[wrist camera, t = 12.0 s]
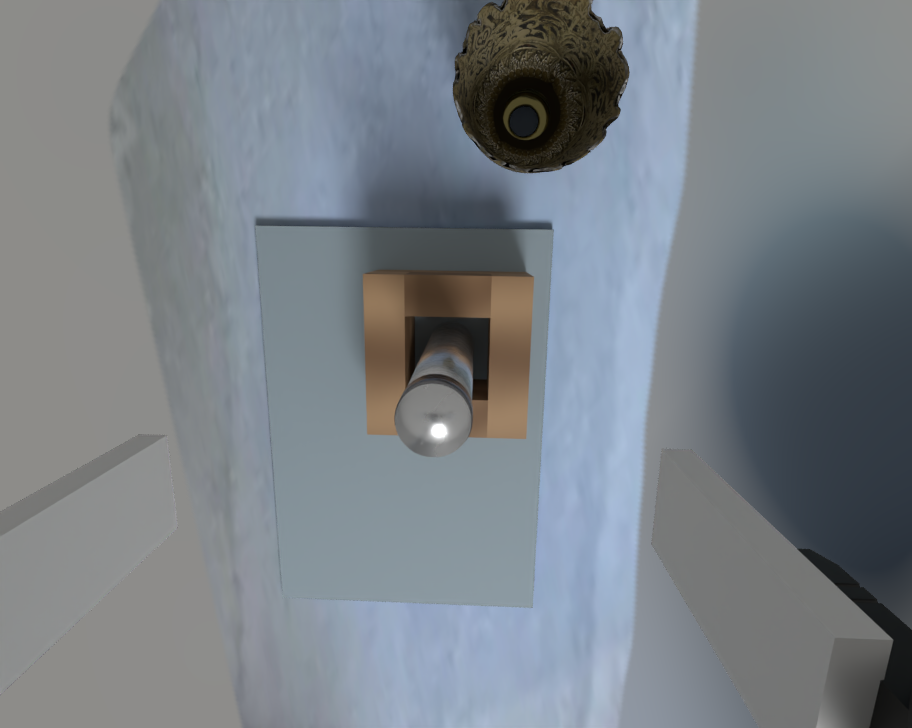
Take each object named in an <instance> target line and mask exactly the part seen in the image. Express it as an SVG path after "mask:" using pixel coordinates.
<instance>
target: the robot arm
mask: <svg viewBox="0 0 912 728" xmlns="http://www.w3.org/2000/svg"><path fill="white" fill-rule="evenodd" d="M177 528H178V524H177V516H176V507H175V500H174V490H173V481H172V473H171V465H170V456H169V448H168V439H167V435H144V434H139V435H137V436H135V437H134V438H132V439H130V440H128V441H126V442H125V443H123V444H121V445H119V446H117V447H116V448H114V449H112V450H110V451H108V452H106V453H105V454H103V455H101V456H100V457H98V458H96V459H94V460H92V461H90V462H89V463H87V464H85V465H83V466H81V467H80V468H78V469H76V470H74V471H73V472H71V473H69V474H67V475H65V476H63V477H62V478H60V479H58V480H56V481H54V482H53V483H51V484H49V485H48V486H46V487H44V488H42V489H40V490H38V491H36V492H35V493H33V494H31V495H29V496H28V497H26V498H24V499H22V500H20V501H18V502H17V503H15V504H13V505H11V506H10V507H8V508H6V509H4V510H3V511H0V695H1V694H2V693H3V692H4V691H5V690H6V689H7V688H8V687H9V686H10V685H12V683H14V682H15V681H16V680H17V679H18V678H19V677H20V676H21V675H22V674H23V673H24V672H25V671H26V670H27V669H29V668H30V667H31V666H32V665H33V664H34V663H35V662H36V661H37V660H38V659H39V658H40V657H41V656H42V655H43V654H44V653H46V652H47V651H48V650H49V649H50V648H51V647H52V646H53V645H54V644H55V643H56V642H57V641H58V640H59V639H60V638H61V637H62V636H64V635H65V634H66V633H67V632H68V631H69V630H70V629H71V628H72V627H73V626H74V625H75V624H76V623H77V622H78V621H80V619H82V618H83V617H84V616H85V615H86V614H87V613H88V612H89V611H90V610H91V609H92V608H93V607H94V606H95V605H96V604H97V603H99V602H100V601H101V600H102V599H103V598H104V597H105V596H106V595H107V594H108V593H109V592H110V591H111V590H112V589H113V588H115V587H116V586H117V585H118V584H119V583H120V582H121V581H122V580H123V579H124V578H125V577H126V576H127V575H128V574H129V573H130V572H132V571H133V570H134V568H136V567H137V566H138V565H139V564H140V563H141V562H142V561H143V560H144V559H145V558H146V557H147V556H148V555H150V554H151V553H152V552H153V551H154V550H155V549H156V548H157V547H158V546H159V545H160V544H161V543H162V542H163V541H164V540H166V538H168V537H169V536H170V535H171V534H172V533H173V532H174V531H175V530H176V529H177ZM651 544H652V546H653V548H654V549H655V551H656V553H657V555H658V556H659V558H660V560H661V561H662V563H663V565H664V566H665V568H666V570H667V571H668V573H669V575H670V577H671V578H672V580H673V582H674V583H675V585H676V587H677V588H678V590H679V592H680V594H681V595H682V597H683V599H684V600H685V602H686V604H687V606H688V607H689V609H690V610H691V612H692V614H693V616H694V617H695V619H696V621H697V623H698V624H699V626H700V628H701V629H702V631H703V633H704V634H705V636H706V638H707V640H708V641H709V643H710V645H711V646H712V648H713V650H714V651H715V653H716V655H717V657H718V658H719V660H720V662H721V663H722V665H723V667H724V669H725V670H726V672H727V674H728V675H729V677H730V679H731V680H732V682H733V683H734V685H735V687H736V689H737V691H738V692H739V694H740V696H741V697H742V699H743V701H744V703H745V704H746V706H747V708H748V709H749V711H750V713H751V714H752V716H753V718H754V720H755V721H756V723H757V725H758V726H759V728H912V630H911V629H910V628H909V627H908V626H907V625H906V624H904V623H903V622H902V621H901V620H900V619H899V618H898V617H896V616H895V615H894V614H893V613H892V612H891V611H890V610H888V609H887V608H886V607H885V606H884V605H883V604H881V603H878V602H877V599H876V598H875V597H874V596H873V595H871V594H870V593H869V592H868V591H867V590H866V589H865V588H864V587H860V586H859V583H858V582H857V581H856V580H854V579H853V578H852V577H851V576H850V575H849V574H848V573H847V572H845V571H844V570H843V569H842V568H841V567H840V566H839V565H837V564H835V563H833V562H832V561H830V560H828V559H826V558H825V557H823V556H821V555H819V554H818V553H816V552H814V551H812V550H810V549H796V548H795V547H794V546H793V545H792V544H791V543H790V542H789V541H788V540H787V539H786V538H785V537H784V536H783V535H782V534H781V533H779V532H778V531H777V530H776V529H775V528H774V527H773V526H772V525H771V524H770V523H769V522H768V521H767V520H766V519H765V518H764V517H762V516H761V515H760V514H759V513H758V512H757V511H756V510H755V509H754V508H753V507H752V506H751V505H750V504H749V503H747V501H746V500H744V499H743V498H742V497H741V496H740V495H739V494H738V493H737V492H736V491H735V490H734V489H733V488H732V487H731V486H730V485H729V484H727V483H726V482H725V481H724V480H723V479H722V478H721V477H720V476H719V475H718V474H717V473H716V472H715V471H714V470H713V469H712V468H710V467H709V466H708V465H707V464H706V463H705V462H704V461H703V460H702V459H701V458H700V457H699V456H698V455H697V454H696V453H695V452H694V451H693V450H686V449H662V451H661V461H660V469H659V478H658V487H657V496H656V505H655V514H654V525H653V533H652V542H651Z"/></svg>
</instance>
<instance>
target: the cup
mask: <svg viewBox="0 0 912 728" xmlns="http://www.w3.org/2000/svg"><path fill="white" fill-rule="evenodd" d="M592 1H593V0H504V1H503V3H502V5H501V6H500V7H499V6H498V5H497V4H495V3H493V2H490V3H488V4H486V5H485V6H484V7H483V8H482V9H481V11H480V12H479V13H478V15H477V21H476V20H474V22H473V23H471V24H470V25H469V27H468V30H467V34H466V38H465V40H464V42H463V52H461V53H458V55H457V56H456V58H455V71H456V75H455V81H454V82H453V97H454V102H455V106H456V109H457V112H458V115H459V117H460V120H461V122H462V126H463V128H464V130H465V132H466V134H467V135H468V136H469V138H470V139H471V140H472V141H473V142H474V143H475V144H476V145H477V147H478V148H479V149H480V150H481V151H482V152H483V153H484V154H485V155H486V156H487V157H488V158H489V159H490V160H492V161H493V162H494V163H496V164H498V165H499V166H501V167H503V168H506V169H508V170H511V171H515V172H520V173H540V172H549V171H555V170H559V169H562V167H564V166H566V165H570V164H572V163H574V162H576V161H577V160H579V159H581V158H583V157H584V156H586V155H587V154H588V153H589V152H591V151H590V150H593V149H594V148H595V147H597V146H598V145H599V144H600V143H601V142H602V140H603V139H604V138H605V136H606V128H607V127H608V126H609V125H610V124H611V123H612V122H613V121H615V120H616V119H617V118H618V116H619V114H620V111H621V109H620V108H619V107H618V103H619V101H620V98H621V96H622V94H623V92H624V90H625V88H626V85H627V82H628V78H629V66H628V63H627V61H626V59H625V57H624V55H623V54H622V51H621V49H622V45H623V37H622V32H621V30H620V29H619V28H618V27H609V28H607V29H606V27H605V26H604V24H603V21H602V18H601V17H598V16H596V15H595V14H594V13H593V12H592V10H591V4H592ZM610 29H613V30H610ZM521 106H528V107H531V108H532V109H534V110H535V112H536V113H537V116H538V126H537V128H536V130H535V131H534V132H533V133H532V134H531V135H529V136H526V137H521V136H518V135H516V134H515V133H514V132H513V131H512V129H511V127H510V117H511V114H512V113H513V111H514V110H515V109H517V108H518V107H521Z"/></svg>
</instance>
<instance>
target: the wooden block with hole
mask: <svg viewBox="0 0 912 728" xmlns="http://www.w3.org/2000/svg"><path fill="white" fill-rule="evenodd" d="M533 290H534V276H532V275H530V274H529V273H527V272H499V271H438V270H375V271H372V272H368V273H364V274H363V303H364V339H365V375H366V411H367V435H398V434H397V431H396V427H395V421H394V416H395V410H396V407H397V404H398V402H399V400H400V398H401V396H402V394H403V392H404V390H405V389H406V387H407V386H408V384H409V382H410V379H411V377H412V375H413V373H414V371H415V316H418V317H468V318H489V322H488V357H487V379H473V385H472V405H473V423H472V429H471V432H470V435H469V437H471V438H506V439H526V435H527V414H528V393H529V373H530V352H531V331H532V310H533Z"/></svg>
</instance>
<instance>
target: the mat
mask: <svg viewBox="0 0 912 728" xmlns="http://www.w3.org/2000/svg"><path fill="white" fill-rule="evenodd" d="M255 230H256V244H257V257H258V271H259V285H260V298H261V312H262V325H263V339H264V352H265V366H266V379H267V393H268V407H269V420H270V434H271V447H272V461H273V474H274V488H275V502H276V515H277V529H278V542H279V556H280V569H281V583H282V597H283V598H304V599H328V600H353V601H377V602H401V603H426V604H450V605H474V606H498V607H523V608H533V591H534V573H535V555H536V537H537V519H538V501H539V483H540V465H541V447H542V429H543V411H544V393H545V375H546V357H547V339H548V321H549V303H550V285H551V268H552V250H553V232H554V230H543V229H467V228H391V227H315V226H255ZM375 270H438V271H499V272H527V273H529V274H530V275H532V276H534V290H533V310H532V331H531V352H530V373H529V393H528V414H527V435H526V439H506V438H471V437H468V439H467V440H466V441H465V443H464V444H463V445H462V446H461V447H460V448H459V449H458V450H456V451H455V452H453V453H451V454H449V455H446V456H443V457H426V456H422V455H419V454H417V453H415V452H413V451H411V450H410V449H409V448H408V447H406V446H405V445H404V443H403V442H402V441H401V439H400V438H399V436H398V435H367V411H366V375H365V339H364V303H363V274H364V273H368V272H372V271H375ZM446 322H456V323H460V324H462V325H464V326H465V327H466V328H467V329H468V330H469V331H470V332H471V334H472V337H473V340H474V354H473V379H487V357H488V322H489V318H468V317H418V316H415V369H416V366H417V364H418V362H419V360H420V358H421V356H422V354H423V351H424V349H425V347H426V345H427V343H428V341H429V339H430V336H431V334H432V332H433V331H434V330H435V329H436V328H437V327H438V326H439V325H441V324H443V323H446Z"/></svg>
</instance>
